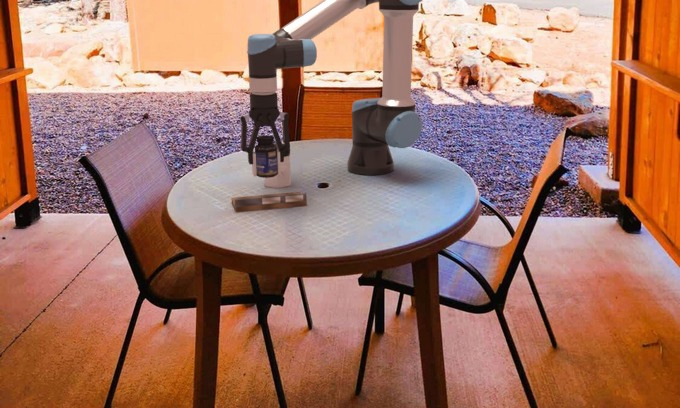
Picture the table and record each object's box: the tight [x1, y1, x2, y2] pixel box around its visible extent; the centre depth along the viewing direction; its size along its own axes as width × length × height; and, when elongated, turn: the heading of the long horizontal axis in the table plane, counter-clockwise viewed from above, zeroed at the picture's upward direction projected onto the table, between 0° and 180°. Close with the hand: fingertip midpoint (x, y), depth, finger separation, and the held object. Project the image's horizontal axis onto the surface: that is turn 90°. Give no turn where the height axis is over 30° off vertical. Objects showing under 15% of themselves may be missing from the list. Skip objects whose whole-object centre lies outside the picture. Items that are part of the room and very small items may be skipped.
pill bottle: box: [254, 134, 278, 179], centre depth 218 cm, size 6×6×11 cm
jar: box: [264, 142, 292, 189], centre depth 239 cm, size 9×8×12 cm
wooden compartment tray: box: [231, 191, 308, 213], centre depth 221 cm, size 20×9×4 cm, turn 104°
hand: (266, 174), depth 220 cm, fingers closed on pill bottle, 6 cm apart
